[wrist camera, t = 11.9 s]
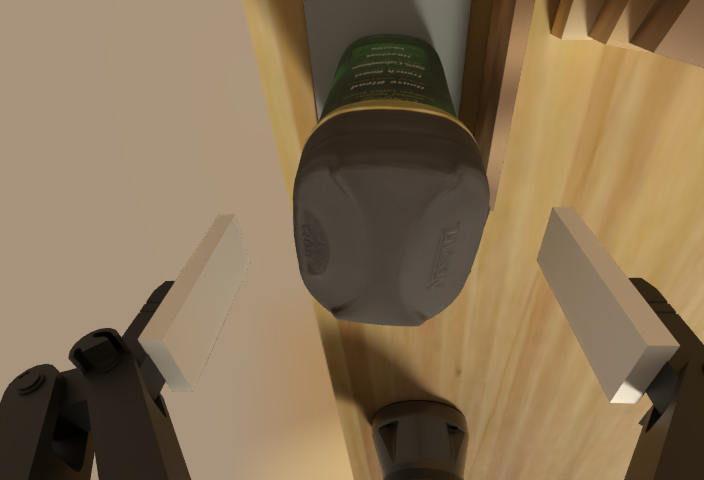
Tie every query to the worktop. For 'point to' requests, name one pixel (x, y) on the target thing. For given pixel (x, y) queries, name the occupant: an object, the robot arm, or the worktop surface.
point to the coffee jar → (389, 188)
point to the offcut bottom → (576, 18)
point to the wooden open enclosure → (501, 83)
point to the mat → (385, 18)
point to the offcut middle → (620, 22)
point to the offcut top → (674, 31)
